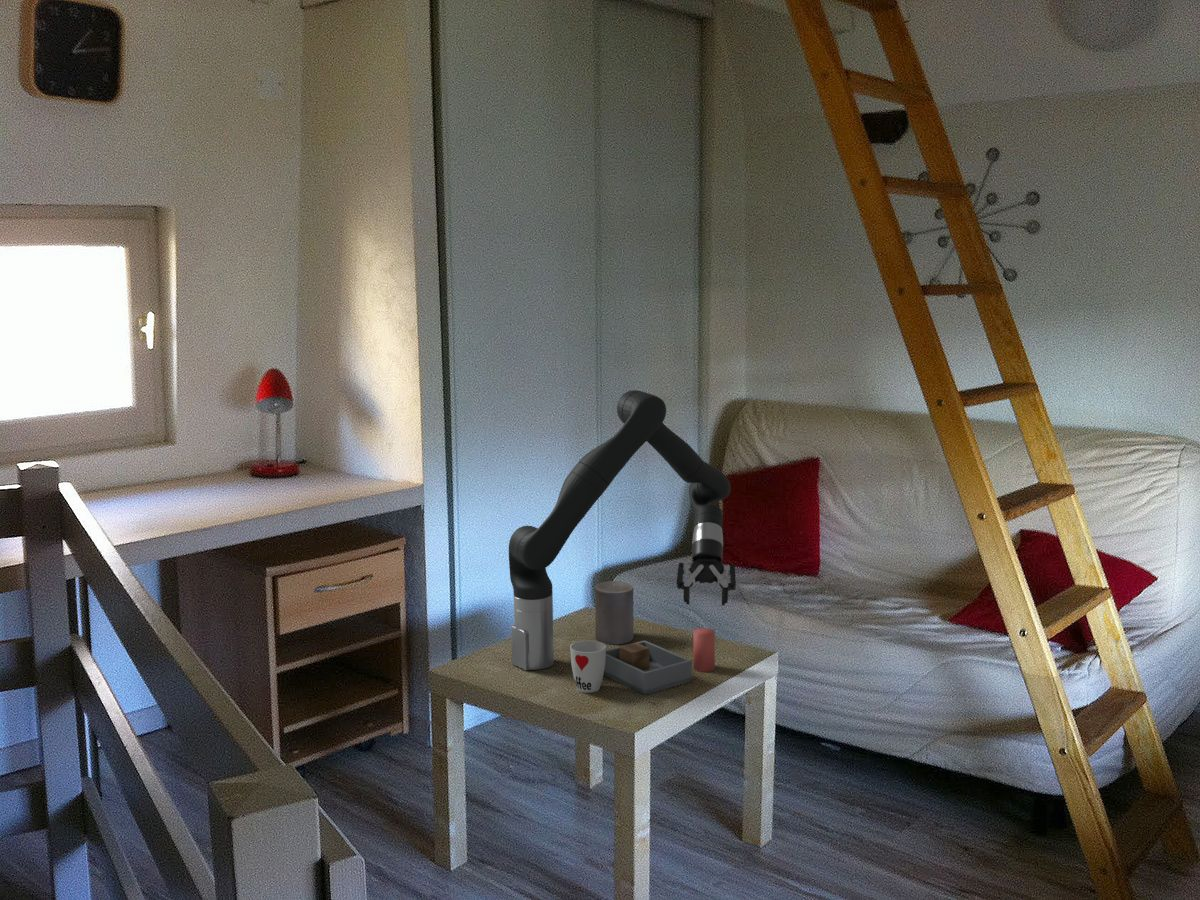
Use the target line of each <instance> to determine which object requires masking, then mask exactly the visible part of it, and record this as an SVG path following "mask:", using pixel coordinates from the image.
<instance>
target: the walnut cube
mask: <svg viewBox="0 0 1200 900" xmlns="http://www.w3.org/2000/svg"><path fill="white" fill-rule="evenodd" d="M628 644H629V645H628ZM628 644H625V645H622V646H618V647H619V660H621V661H623V662H625V663H627V664H630V665H632V666H634V667H636V668H638V669H640V670H642V671H643V670H647V669H650V668H649V648H648V647H645V646H643V645H641V644H638V643H636V642H633V644H632V643H628Z"/></svg>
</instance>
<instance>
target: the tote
mask: <svg viewBox="0 0 1200 900" xmlns="http://www.w3.org/2000/svg"><path fill="white" fill-rule="evenodd" d="M633 643H634V642H633ZM633 643H631V644H633ZM635 643H638V644H641V645H643V646H645V647H648V648H649V668H650V669H647V670H643V671H642V670H640V669H638V668H636V667H634V666H632V665H630V664H627V663H625V662H623V661H621V660H619V647H620V646H617V647H614V648H610V649H606V658H605V668H604V674H603V676H605V677H607V678H609V679H612V680H613V681H615V682H617V683H619V684H621V685H623V686H626V687H627V688H629V689H632V690H634V691H636V692H638V693H640V694H642V695H644V696H646V695H649V694H653V692H654V693H656V691H657V692H660V691H663V690H668V689H670V687H671V688H674V687H678V686H680V684H681V685H684V683H685V684H688V683H691V681H692V682H693V660H692V659H689V658H687V657H685V656H682V655H680V654H678V653H675V652H674V651H670V650H668V649H667V648H663V646H659V645H657V644H654V643H652V642H650V641H647V640H640V641H637V642H635ZM629 644H630V643H627V645H629ZM687 682H688V683H687ZM677 685H678V686H677ZM673 686H674V687H673Z"/></svg>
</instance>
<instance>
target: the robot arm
mask: <svg viewBox="0 0 1200 900" xmlns="http://www.w3.org/2000/svg"><path fill="white" fill-rule="evenodd" d="M616 413H617V417H618V418H619V420H620V422H622V423H623V425H622V426H621V427H620V428H619V430H618V431H617V432H616V433H615V434H614V435H612V437H611V438H609V439H608V440H606V441H605V442H603V443H601V444H599V445H598V446H596V447H594V448H593V449H592V450H590V451H589V452H587V453H586V454H584V455H583V456H582V457H581V458H580V459H579V460H578V462H577V463H576V465H574V466H573V468H572V469H571V471H570V472H569V473H568V474H567V476H566V477H565V479H564V481H563V483H562V486H561V489H560V492H559V495H558V496H557V501H556V503H555V505H554V507H553V509H552V510H551V513H549V515H548V516H547V517H546V518H545V520H544V521H543V522H542V523H541V524H540V525H539V526H538V527H535V526H532V525H522V526H520V527H518V528H517V529H516V530H515V531H514V532H513V533H512V535H511V536H510V539H509V542H508V565H509V578H510V583H511V585H512V590H513V616H514V617H513V618H514V619H513V620H514V621H513V622H514V625H511V627H510V635H511V637H510V639H511V640H510V642H511V644H510V645H511V664H512V665H514V666H516V667H517V666H518V668H520V669H521V668H522V669H521V670H523V671H531V670H532V671H533V670H534V671H535V670H536V671H537V670H543V669H548V668H550V667H552V666H553V665H554V664H555V660H554V659H555V651H554V649H555V647H554V646H555V645H554V608H553V607H554V606H553V605H554V603H553V602H554V601H553V600H554V599H553V596H554V595H553V583H552V581H551V579H550V577H549V575H548V571H547V568H548V567H549V566H550V565H551V564H552V563H553V562H554V561H555V559H556V558H557V557H558V555H559V554H560V552H561V550H562V549H563V547H564V545H565V544H566V543H567V541H568V539H570V536H571V535H572V533H573V532H574V530H575V529H576V527H577V526H578V525H579V524H580V522H581V521H582V520H583V519H584V518H585V516H587V514H588V512H589V511H590V510H591V508H592V507H593V506H594V504H595V503H596V502H597V501H598V500H599V499H600V498H601V496H602V495H603V494H604V493H605V491H606V490H607V489H608V488H609V486H611V485H610V484H611V483H612V482H613V481H614V479H615V478H616V477H617V475H618V474H619V473H620V472H621V471H622V469H624V467H625V466H626V465H627V463H628V462H630V460H631V458H632V457H633V456H634V455H635V454H636V452H637V451H639V450H640V448H641V447H642V446H644V444H646V442H647V443H648V444H649V445H650V446H651V447H652V448H653V449H654V450H655V451H656V452H657V453H658V454H659V455H660V456H661V457H662V459H663V460H664V461H666V463H667V464H668V466H670V467H671V468H672V470H673V471H674V472H675V473H676V474H677V475H678V476H679V478H681V480H683V481H684V482H685V483H688V484H690V485H689V488H688V494H689V495H688V496H689V499H690V502H691V505H692V511H693V513H694V521H693V522H694V523H693V534H692V545H691V563H689V564H684V563H683V562H679V563H678V565H677V567H678V568H677V577H676V588H677V589H679V590H680V589H681V590H683V596H682V597H683V598H682V599H683V602H684V603H685V604H686V605H690V598H691V597H690V595H691V594H690V593H691V591H690V590H691V589H692V587H695V585H696V584H697V583H698V582H699V583H700V584H705V583H708V584H713V583H715V584H717V586H718V587H719V588H720V589H721V606H726V604H728V603H729V602H728V601H729V591H735V590H736V589H737V586H736V584H737V583H736V581H737V580H736V566H735V564H734V563H731V564H729V565H724V564H723V557H724V555H723V554H724V553H723V552H724V535H723V533H724V532H723V511H722V509H721V508H720V507H719V506H718V505H715V504H713V503H716V502H719V501H722V500H725V499H726V498H728V497H729V495H730V494H731V491H732V489H731V482H730V480H729V479H728V476H726V474H724V473H723V472H722V471H721V470H719V469H717V468H716V467H714V466H713V465H711V464H709V463H708V462H706V461H704V460H703V459H702V458H701V457H700V456H699V454H698V453H697V452H696V450H694V449H693V448H692V447H691V445H690V444H689V443H688V442H686V441H685V440H684V439H683V438H681V437H680V436H679V435H677V434H676V433H675V432H674V431H673V430H671V429H670V428H669V427H667V426H666V425H665V424H664V421H665V419H666V415H667V406H666V403H665V401H664V400H663V399H662V398H661V397H659V396H657V395H655V394H651V393H649V392H645V391H641V390H635V389H632V390H629V391H625V393H623V394H622V395H621V396H620V398H619V399H618V401H617V405H616ZM688 571H689V572H690V573H691V574H690V575H689V577H688V578H687V580H686V581H683V580H684V575H686V574H687V572H688ZM725 572H726V575H728V576H729V577H730V582H727V581H726V580H725V579H724V577H723V573H725Z"/></svg>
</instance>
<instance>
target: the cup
mask: <svg viewBox="0 0 1200 900" xmlns="http://www.w3.org/2000/svg"><path fill="white" fill-rule="evenodd" d="M569 649H570V651H569V652H570V662H571V664H570V665H571V670H572V675H573V680H574V683H575V686H576V689H577V691H578V692H580V693H584V694H585V693H586V694H589V693H591V694H592V693H596V692H598V691H599V690H600V688H601V686H602V682H603V679H604V675H603V674H604V668H605V658H606V650H607V644H605V643H602V642H599V641H597V640H580V641H575V642H573V643H571V644H570V645H569Z"/></svg>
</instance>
